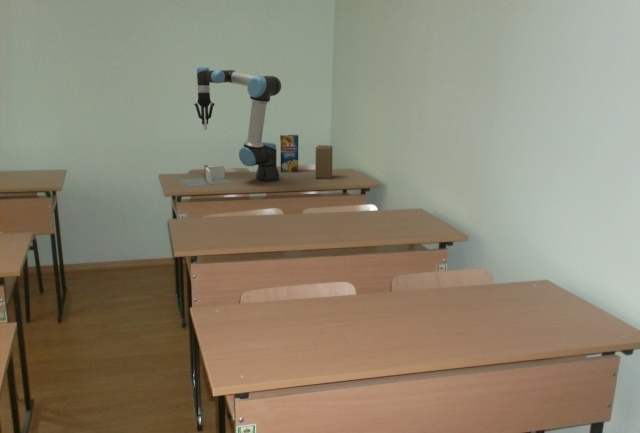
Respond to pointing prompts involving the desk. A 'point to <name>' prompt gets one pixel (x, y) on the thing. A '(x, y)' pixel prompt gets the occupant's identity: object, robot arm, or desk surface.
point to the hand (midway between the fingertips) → (205, 129)
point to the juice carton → (289, 153)
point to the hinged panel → (208, 175)
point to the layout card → (203, 181)
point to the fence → (215, 171)
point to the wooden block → (324, 161)
